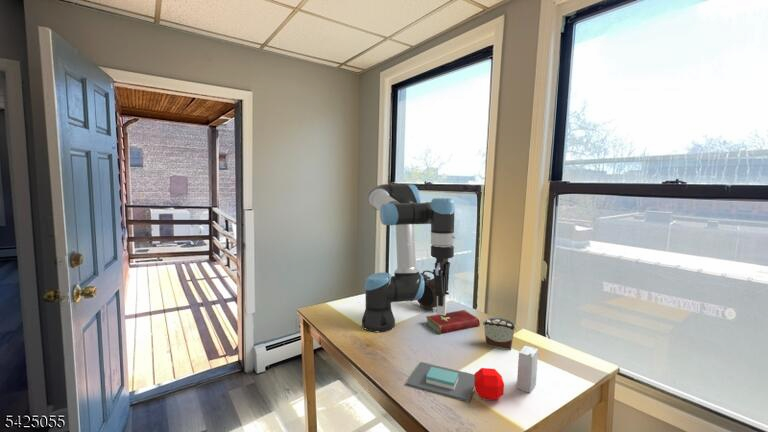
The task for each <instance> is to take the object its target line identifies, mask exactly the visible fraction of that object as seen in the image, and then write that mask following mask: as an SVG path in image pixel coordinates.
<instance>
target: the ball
mask: <svg viewBox="0 0 768 432" xmlns="http://www.w3.org/2000/svg"><path fill="white" fill-rule="evenodd" d="M474 375H475V378H474V385H475V387H474V389H475V393H476V394H477V395H478V396H479V397H480V399H482V400H486V401H487V400H489V401H497V400H499V399H500V398H501V397H502V396H504V395H505V394H504V392H505V382H504V378H503V376H502V375H501V374H500V373H499V372H498V370H496V369H495V368H491V367H490V368H488V367H487V368H486V367H481V368H480V369H479V370H477V371H475V373H474Z"/></svg>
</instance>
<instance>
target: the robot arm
mask: <svg viewBox="0 0 768 432" xmlns="http://www.w3.org/2000/svg"><path fill="white" fill-rule="evenodd" d="M367 202H368V204H369V206H370V207H371V208H372V209H373V210H375V211H378V212H379V218H380V222H381V224H382V225H384V226H395V240H396V244H395V246H396V262H397V263H396V266H397V267H396V269H395V270H394V272H393V275H392V274H390V273H389V272H376V273H372V274H370V275H369V276H367V277H366V278H365V286H364V292H365V309H364V313H363V315H362V319H361V327H362V326H363V327H364V328H366V329H368V330H371V331H370V332H372V331H379V332H378V333H382V332H383V331H384V332H387V331H388V332H389V331H391V330H393V329H394V328H395V326H396V320H395V316H394V313H393V310H392V303H399V302H401V303H402V302H413V301H418V300H419V299H420V298H421V297H422V295H423V293H424V278H423V276H422V275H421V274H420V270H419V269H418V267H417V265H416V263H417V262H416V246H415V245H416V243H415V241H416V240H415V239H416V238H415V225H430V256H431V257H432V258H434V259H435V260H436V261H435V263H434V268H433V270H432V272H433V274H434V275H433V274H432V275H433V278H434V284H435V294H434V295H435V296H437V308H436V315H437V314H439V315H446V313H447V295H448V296H449V294H450V293H449V292H448V291H449V279H450V268H451V262H450V261H449V259H452V258H453V257H454V256H455V255H454V254H455V252H454V251H455V247H454V244H455V243H454V241H455V239H456V238H457V237H456V235H455V212H456V208H455V200H454V199H453V198H450V197H449V198H448V197H447V198H446V197H435V198H432V199H431V201H430V202H429V201H426V202H421V195H420V191H419V189H418V187H417V186H416V185H415V184H412V183H411V184H410V183H408V184H407V183H392V184H388V183H385V184H384V183H383V184H379V185H377V186H374V187H373V188H372V189H371V190H369V192H368V194H367ZM363 327H362V328H363ZM364 328H363V329H364ZM392 328H393V329H392ZM368 330H367V331H368ZM384 332H383V333H384Z"/></svg>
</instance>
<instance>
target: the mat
mask: <svg viewBox="0 0 768 432" xmlns="http://www.w3.org/2000/svg"><path fill="white" fill-rule="evenodd" d="M416 366H417V367H416V368H415V370H413V372H412V374H411V375H410V377H409V379H407V381H406V384H405V385H406V386H409V387H411V388H412V387H414V388H416V389H419V390H424V391H427V392H431V393H435V394H438V395H442V396H446V397H449V398H453V399H457V400H460V401H465V402H469V403H470V401H471V400H472V396H473V393H474V389H475V385H474V378H475V373H470V372H466V371H461V370H457V369H453V368H448V367H444V366H441V365H440V366H439V365H435V364H432V363H431V364H430V363H426V362H422V361H420V362H419V364H418V365H416ZM431 367H435V368H439V369H443V370H447V371H452V372H456V373H458V381H457V384H456V386H455V389H454V390H453V389H449V388H445V387H441V386H437V385H433V384H429V383H426V376H427V374H428V372H429V370H430V369H431Z"/></svg>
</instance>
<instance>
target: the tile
mask: <svg viewBox="0 0 768 432" xmlns="http://www.w3.org/2000/svg"><path fill="white" fill-rule="evenodd" d="M457 381H458V373H456V372H452V371H447V370H443V369H439V368H435V367H431V369H430V370H429V372H428V374H427V376H426V383H429V384H433V385H437V386H441V387H445V388H449V389H453V390H454V389H455V386H456V384H457Z"/></svg>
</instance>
